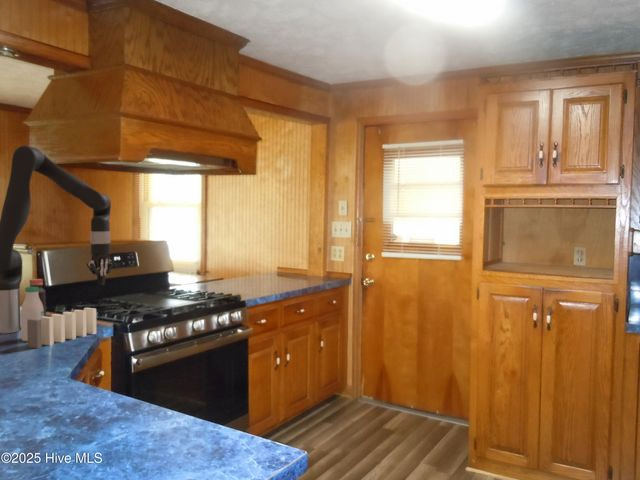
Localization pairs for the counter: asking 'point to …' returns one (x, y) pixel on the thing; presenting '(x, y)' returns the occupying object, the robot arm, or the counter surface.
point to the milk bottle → (30, 309)
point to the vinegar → (41, 291)
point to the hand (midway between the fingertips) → (101, 284)
